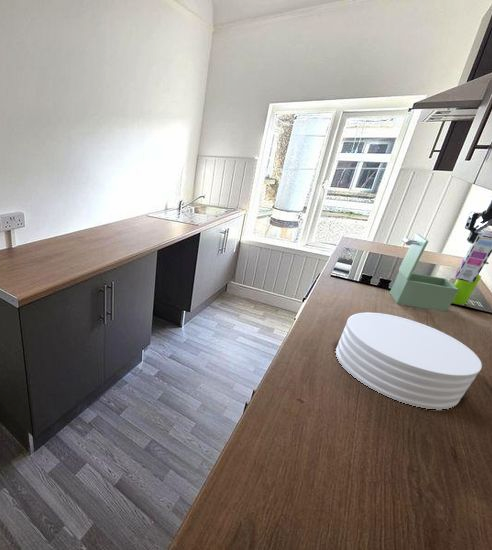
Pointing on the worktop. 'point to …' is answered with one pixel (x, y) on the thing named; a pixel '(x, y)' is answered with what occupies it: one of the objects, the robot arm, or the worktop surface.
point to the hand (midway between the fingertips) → (483, 244)
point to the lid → (412, 254)
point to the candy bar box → (475, 257)
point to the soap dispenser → (464, 290)
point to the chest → (423, 291)
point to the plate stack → (407, 360)
